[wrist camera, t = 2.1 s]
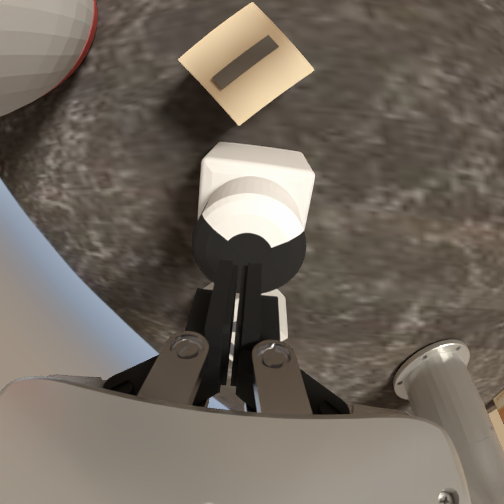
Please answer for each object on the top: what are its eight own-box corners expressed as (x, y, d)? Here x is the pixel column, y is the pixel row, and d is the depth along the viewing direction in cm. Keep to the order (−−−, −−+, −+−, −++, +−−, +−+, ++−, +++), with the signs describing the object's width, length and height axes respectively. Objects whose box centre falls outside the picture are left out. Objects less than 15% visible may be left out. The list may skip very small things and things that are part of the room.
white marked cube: (285, 297, 32) (288, 340, 26) (240, 323, 34) (236, 366, 28) (247, 257, 30) (243, 297, 24) (202, 288, 32) (191, 329, 26)
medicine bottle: (289, 229, 28) (302, 316, 18) (211, 218, 28) (178, 301, 17) (303, 151, 25) (332, 198, 14) (217, 140, 24) (180, 178, 14)
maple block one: (303, 75, 22) (315, 69, 16) (244, 119, 24) (238, 126, 18) (255, 22, 19) (252, 0, 14) (197, 66, 21) (176, 59, 16)
